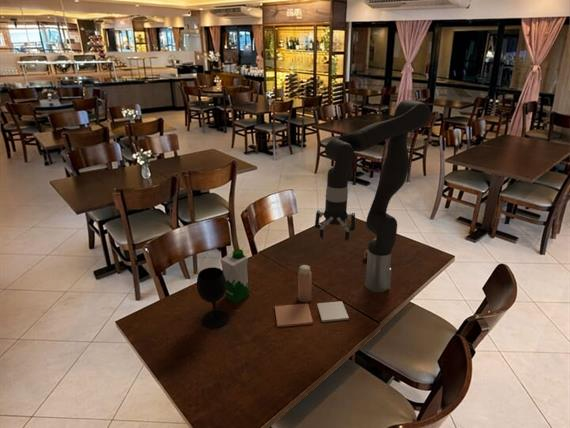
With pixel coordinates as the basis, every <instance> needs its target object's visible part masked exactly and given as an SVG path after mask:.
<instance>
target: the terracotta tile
mask: <svg viewBox="0 0 570 428" xmlns="http://www.w3.org/2000/svg"><path fill="white" fill-rule="evenodd" d="M274 311H275V319H276V326H277V328H280V327H292V326H293V327H294V326H302V325H303V326H304V325H314V320H313V317H312V314H311V309H310V307H309V303H308V302H306V303H299V304H298V303H296V304H286V305H275V306H274Z"/></svg>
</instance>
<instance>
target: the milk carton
mask: <svg viewBox="0 0 570 428" xmlns="http://www.w3.org/2000/svg"><path fill="white" fill-rule="evenodd" d="M248 260H249V257H248V256H246V255H245V254H244V250H242V249H239V248H236V249H234V250H232V253H230V254H227V255H225V256H224V257H222V258H220V263H221V267H222V271H223V273H224V276H225V279H226V292H225V294H224V297H225V298H227V299H228V300H230V301H231V302H232V303H233V304H234V303H235V304H238V303H241V301H243V300H245V299H247V298H249V297H250V289H249V288H250V287H249V282H248V280H249V279H248Z"/></svg>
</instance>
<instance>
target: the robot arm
mask: <svg viewBox="0 0 570 428" xmlns="http://www.w3.org/2000/svg"><path fill="white" fill-rule="evenodd" d="M393 114H394V115H393V117H392V119H391V118H390V119H387V120H383V121H379V122H375V123H371V124H368V125H366V126H364V127H362V128H360V129H358V130H356V131H354V132H352V133H347V134H344V135H341V136H337V137H335V138H333V139H331V140H330V141H328V142H327V144H326V145H325V147H324V153H325V155H326V157H327V158H328V159H330V160H332V161H334V166H333V167H331V168H330V169H328V171H327V179H326V180H327V181H326V182H327V183H326V189H325V190H326V191H325V204H324V205H325V207H324V209H325V210H324V211H320V210H319V209H318V210H316V213H315V221H314V228H316V229H319V238H321V240H324V238H325V227H327V226H328V225H329V224H330V225H331V226H332V225H336V226H340V225H341V226H342V228H343V229H344V230H345V235H344V237H345V238H344V241H345V242H347V241H348V240H349V239H350V232H351V231H352V232H353V231H355V230H356V229H355V228H356V213H355V212H352V213H347V211H348V210H347V209H348V208H347V207H348V197H349V196H348V195H349V194H348V193H349V189H348V184H349V183H348V182H349V174H350V171H351V168H352V165H353V161H354V158H355V152H359V153H360V152H364V151H366V150H369V149H370V148H372V147H374V146H376V145H378V144H379V143H382V142H384V141H386V140H388V139H389V142H388V147H387V150H386V154H385V158H384V161H383V164H382V168H381V173H380V177H379V181H378V185H377V188H376V191H375V193H374V194H375V195H374V198H373V200H372V203H371V205H370V208H369V211H368V214H367V216H366V221H365V224H366V228H367V230H369V232H371V233H373V234H374V235H375V236H376V237H375V238H376V239H375V238H374V239H375V240H373V239H372V240H370V241H369V242H368V246H367V249H368V257H367V259H366V272H365V288H366V289H367V290H368V291H370V292H372V293H384V292H386V291H387V290H391V281H392V280H391V278H392V268H391V262H392V251H393V247H394V246H395V243H396V238H397V232H398V221H397V219H396V218H395V217H394V216H393V215H390V214H389V213H387V210H388V206H389V203H390V201H391V199H392V198H393V196H394V195H395V194H397V193H398V191H399V190H400V189H401V188H402V187H403V186H404V184H405V182H406V181H407V176H408V172H409V169H410V156H409V151H408V143H407V142H408V141H407V140H408V135H409V132H412V131H415V130H418V129H421V128H422V127H425V126H426V125H427V124H428V123H429V120H430V118H431V108H430V106H429V105H428V104H427V103H424V102H422V101H419V100H418V101H416V100H412V99H404V100H402V101H400V102H399V103H398V105H397V106H396V108H395V110H394V113H393ZM322 217H324V218H325V219H324V220H323V221H322V222H321V223H320V218H322ZM346 219H349V220H350V221H351V222H350V223H351V225H349V224H348V223H347V221H346Z"/></svg>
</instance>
